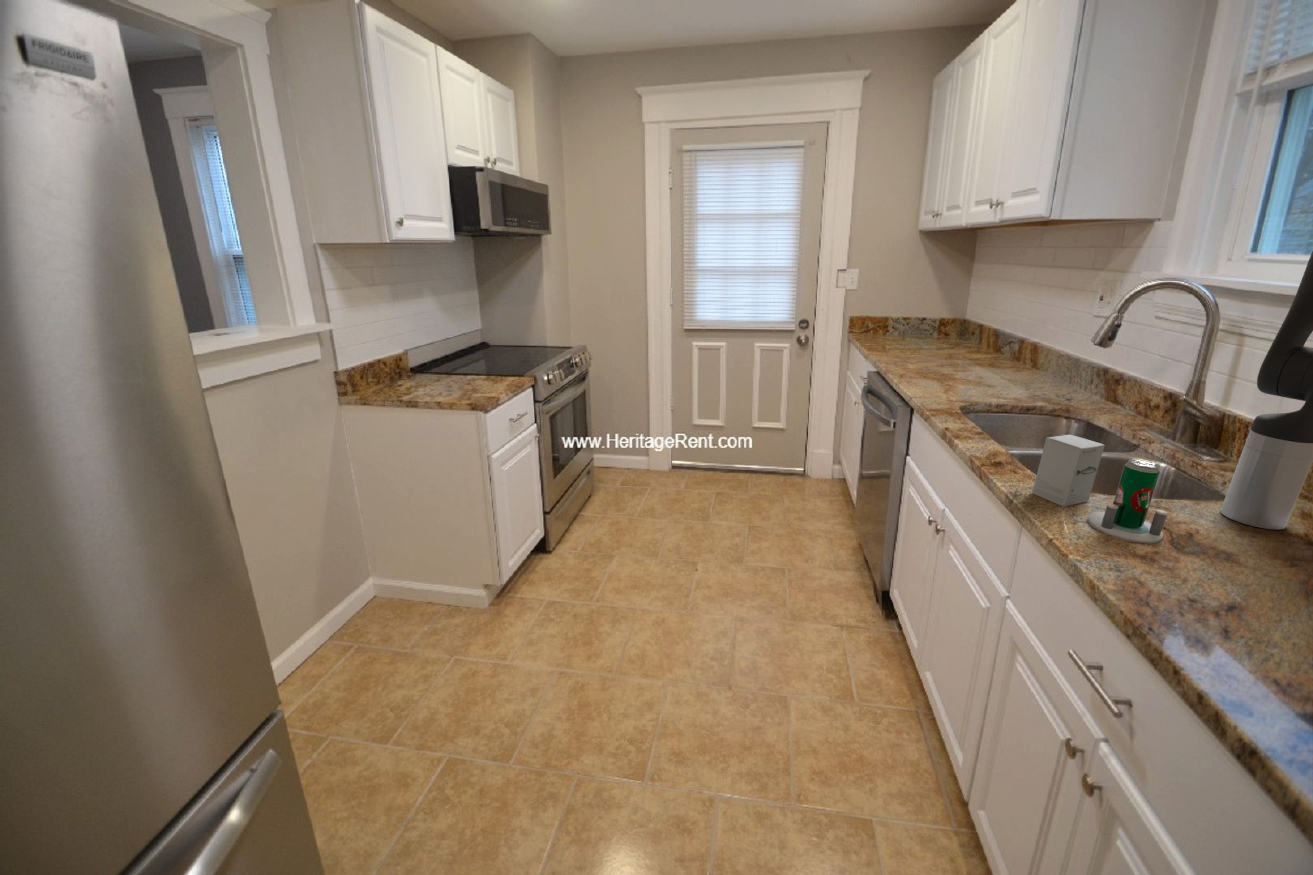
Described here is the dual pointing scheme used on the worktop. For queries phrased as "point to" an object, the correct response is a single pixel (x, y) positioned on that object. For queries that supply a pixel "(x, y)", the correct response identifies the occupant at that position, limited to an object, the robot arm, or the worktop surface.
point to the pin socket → (1139, 535)
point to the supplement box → (1067, 469)
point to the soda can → (1135, 492)
